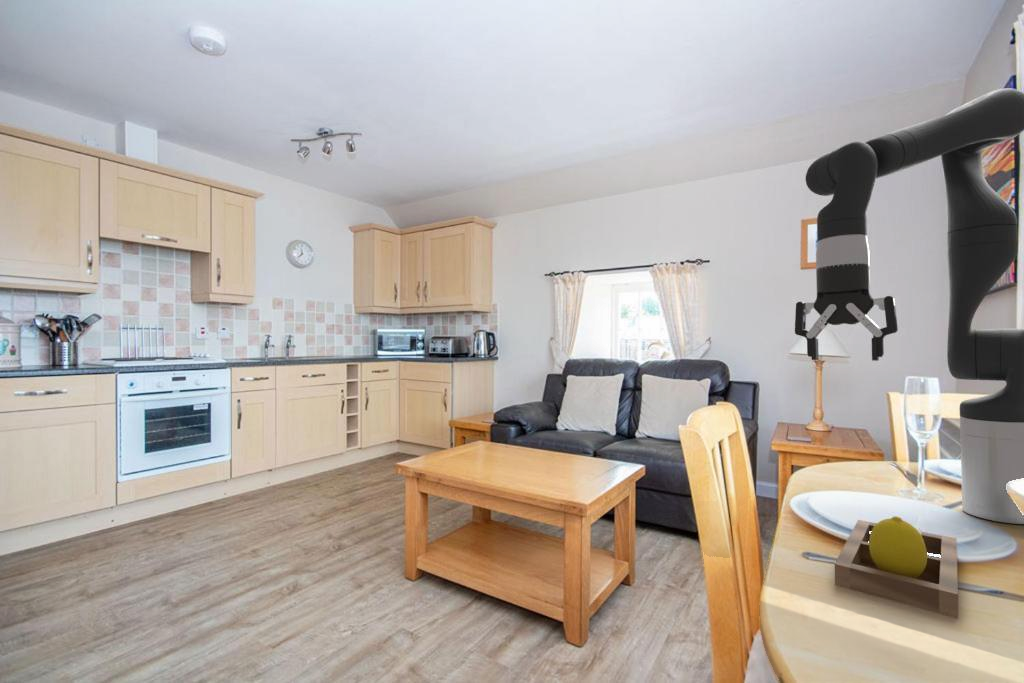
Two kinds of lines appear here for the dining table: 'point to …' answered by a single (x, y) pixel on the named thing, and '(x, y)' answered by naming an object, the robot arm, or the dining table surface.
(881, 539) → the lemon
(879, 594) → the wooden tray
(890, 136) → the robot arm
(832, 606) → the dining table surface
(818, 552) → the dining table surface
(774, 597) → the dining table surface
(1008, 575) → the dining table surface
